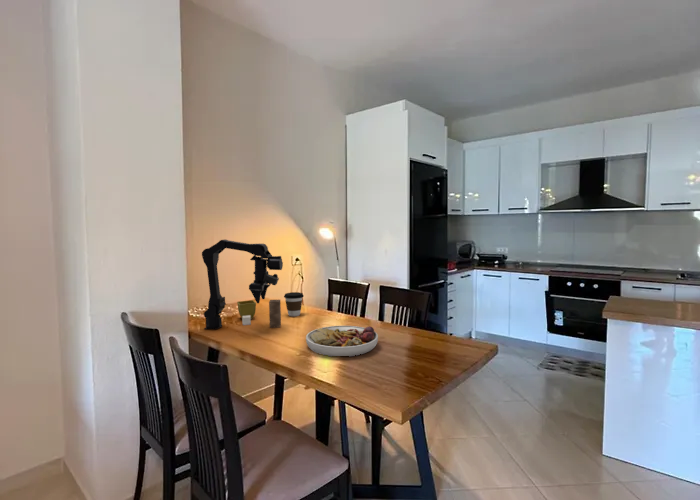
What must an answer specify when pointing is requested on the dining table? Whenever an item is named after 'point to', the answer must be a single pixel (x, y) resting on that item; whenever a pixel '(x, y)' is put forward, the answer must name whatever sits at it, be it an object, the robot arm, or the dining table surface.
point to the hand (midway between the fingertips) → (260, 301)
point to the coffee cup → (293, 303)
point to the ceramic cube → (246, 320)
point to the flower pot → (247, 308)
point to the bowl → (342, 340)
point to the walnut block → (275, 313)
